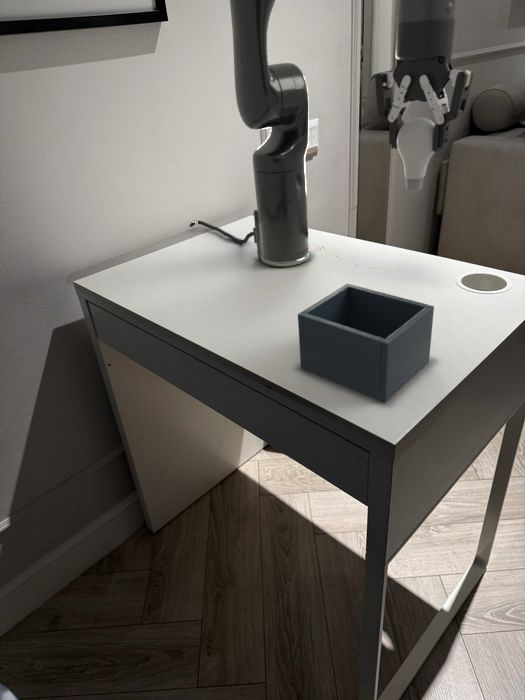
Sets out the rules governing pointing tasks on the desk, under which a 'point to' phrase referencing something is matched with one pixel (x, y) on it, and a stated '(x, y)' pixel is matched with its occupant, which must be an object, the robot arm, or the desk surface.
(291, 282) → the desk surface
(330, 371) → the bin
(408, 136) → the lightbulb
